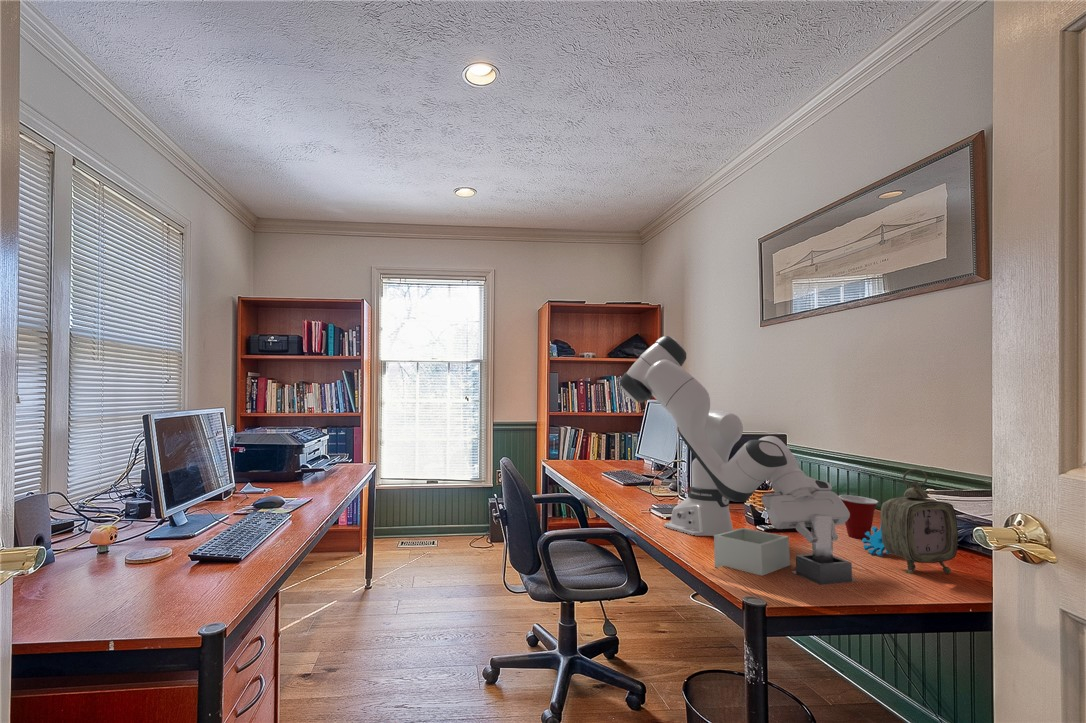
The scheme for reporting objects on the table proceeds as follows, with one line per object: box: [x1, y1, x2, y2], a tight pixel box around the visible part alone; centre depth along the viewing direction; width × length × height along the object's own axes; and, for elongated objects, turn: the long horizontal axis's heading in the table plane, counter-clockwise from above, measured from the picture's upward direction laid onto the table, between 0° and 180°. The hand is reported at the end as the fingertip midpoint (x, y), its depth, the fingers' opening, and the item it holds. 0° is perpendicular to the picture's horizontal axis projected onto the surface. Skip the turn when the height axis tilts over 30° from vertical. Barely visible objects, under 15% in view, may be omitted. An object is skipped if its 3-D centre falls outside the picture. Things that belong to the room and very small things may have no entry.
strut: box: [810, 514, 834, 564], centre depth 133 cm, size 5×5×14 cm
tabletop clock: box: [880, 468, 959, 575], centre depth 139 cm, size 14×9×25 cm, turn 101°
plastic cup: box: [838, 494, 879, 540], centre depth 174 cm, size 11×11×12 cm
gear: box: [861, 524, 891, 557], centre depth 155 cm, size 11×6×10 cm
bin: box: [713, 527, 791, 576], centre depth 143 cm, size 13×13×8 cm
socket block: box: [791, 553, 858, 586], centre depth 133 cm, size 10×10×5 cm
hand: (824, 540), depth 133 cm, fingers closed on strut, 4 cm apart
